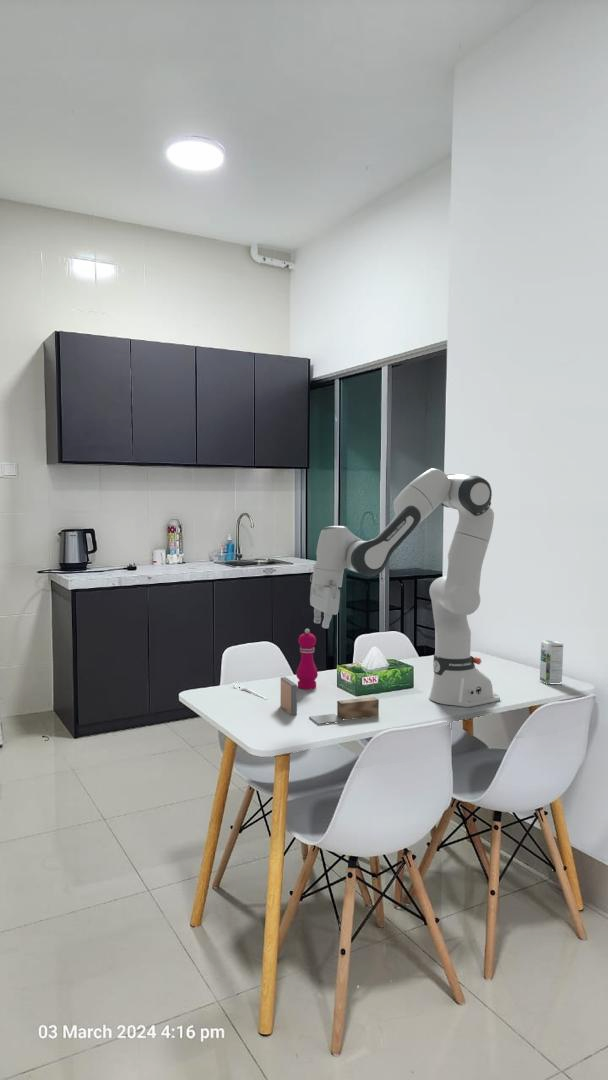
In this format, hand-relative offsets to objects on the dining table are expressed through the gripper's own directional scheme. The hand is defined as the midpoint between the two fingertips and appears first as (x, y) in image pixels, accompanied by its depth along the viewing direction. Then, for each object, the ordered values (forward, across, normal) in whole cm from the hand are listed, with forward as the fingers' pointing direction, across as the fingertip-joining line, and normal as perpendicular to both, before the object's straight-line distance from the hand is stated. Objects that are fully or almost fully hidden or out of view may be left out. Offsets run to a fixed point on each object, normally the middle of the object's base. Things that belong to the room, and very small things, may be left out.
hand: (321, 625), depth 217 cm
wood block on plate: (+25, -6, -10) cm, 28 cm away
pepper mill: (+25, +30, -7) cm, 40 cm away
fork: (+28, +28, +13) cm, 42 cm away
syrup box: (+13, +18, -90) cm, 93 cm away
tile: (+27, +6, +5) cm, 28 cm away
